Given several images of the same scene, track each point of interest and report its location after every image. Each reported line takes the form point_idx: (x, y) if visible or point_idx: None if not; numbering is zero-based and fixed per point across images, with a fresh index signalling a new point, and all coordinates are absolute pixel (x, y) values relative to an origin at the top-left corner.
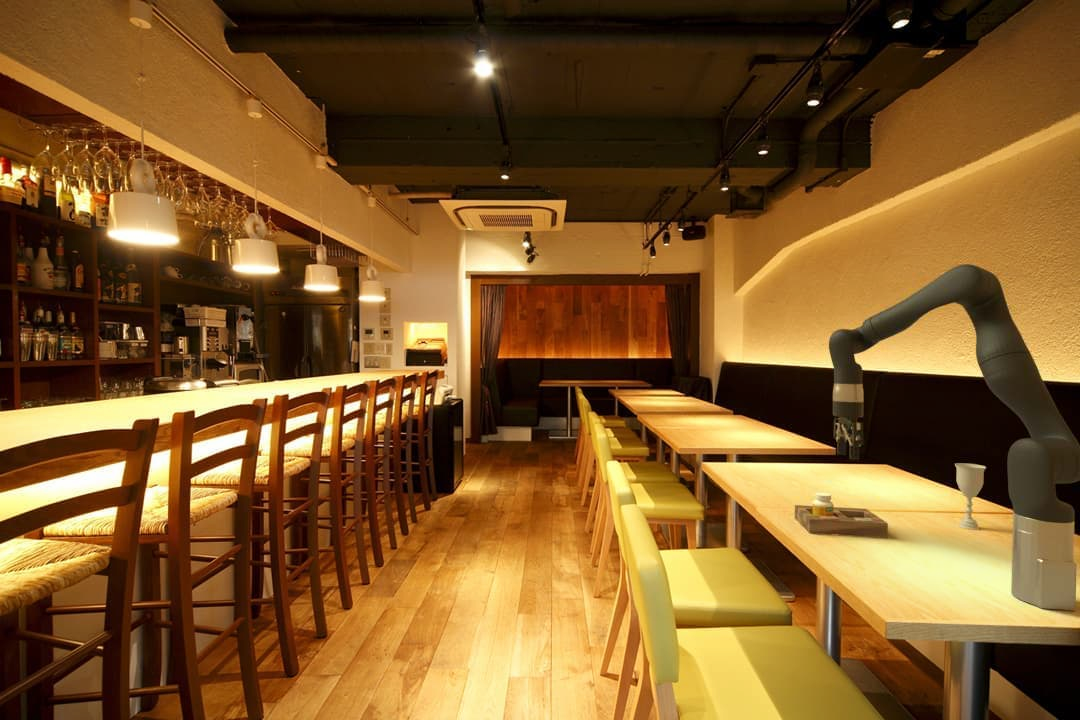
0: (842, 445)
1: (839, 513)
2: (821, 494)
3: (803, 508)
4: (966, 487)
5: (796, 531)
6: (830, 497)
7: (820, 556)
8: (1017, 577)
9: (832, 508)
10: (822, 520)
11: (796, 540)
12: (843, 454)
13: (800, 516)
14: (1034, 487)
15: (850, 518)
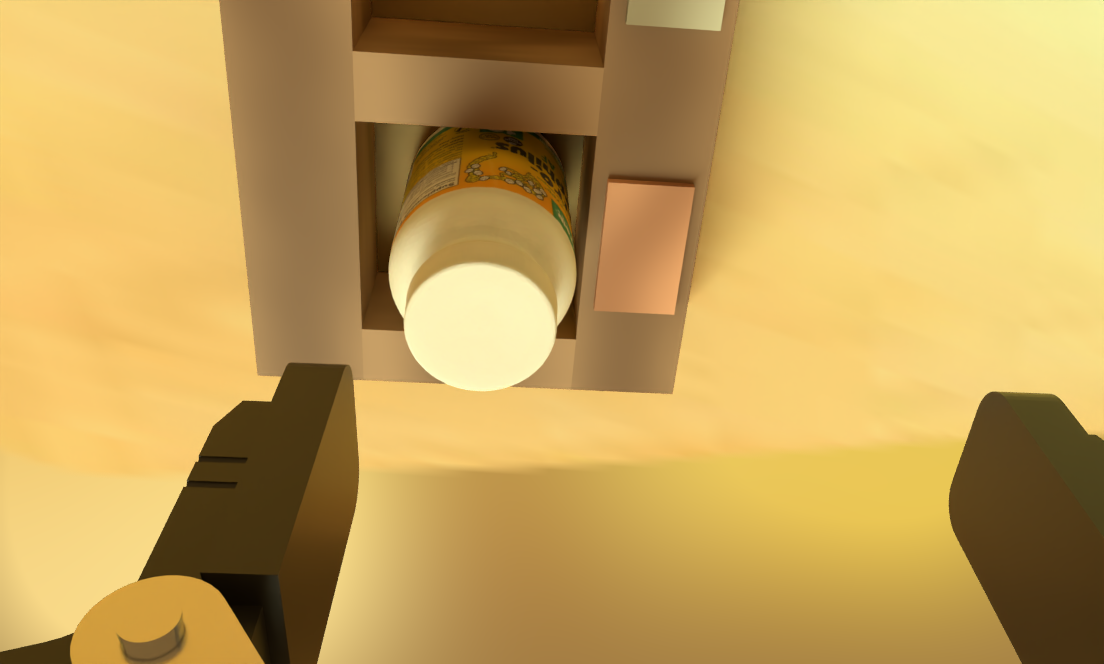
0: (312, 580)
1: (469, 84)
2: (496, 349)
3: (361, 343)
4: None
5: (624, 398)
6: (534, 269)
7: (1088, 413)
8: None
9: (550, 207)
10: (686, 305)
11: (808, 450)
12: (348, 405)
13: None
14: None
15: (633, 49)
